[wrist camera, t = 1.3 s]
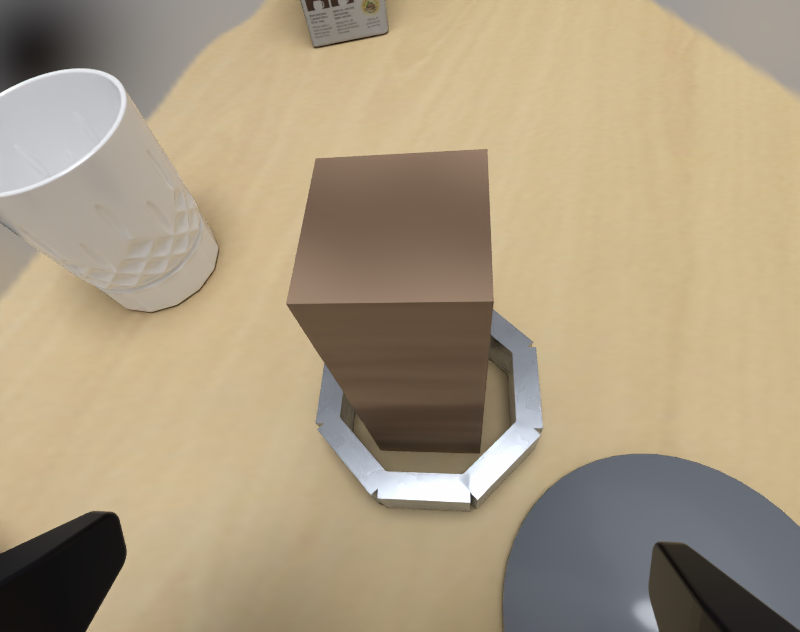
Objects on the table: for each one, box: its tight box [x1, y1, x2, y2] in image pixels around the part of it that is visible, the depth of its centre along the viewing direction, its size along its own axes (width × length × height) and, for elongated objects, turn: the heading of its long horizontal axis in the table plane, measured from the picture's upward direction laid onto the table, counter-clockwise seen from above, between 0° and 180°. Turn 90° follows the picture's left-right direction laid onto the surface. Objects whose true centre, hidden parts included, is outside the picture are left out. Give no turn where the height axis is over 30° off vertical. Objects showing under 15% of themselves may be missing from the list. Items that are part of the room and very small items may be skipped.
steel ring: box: [316, 310, 543, 511], centre depth 21 cm, size 9×9×2 cm
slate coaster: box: [502, 454, 800, 632], centre depth 17 cm, size 12×12×1 cm
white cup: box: [0, 68, 219, 312], centre depth 24 cm, size 8×8×10 cm
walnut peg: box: [286, 149, 494, 453], centre depth 17 cm, size 4×4×13 cm
